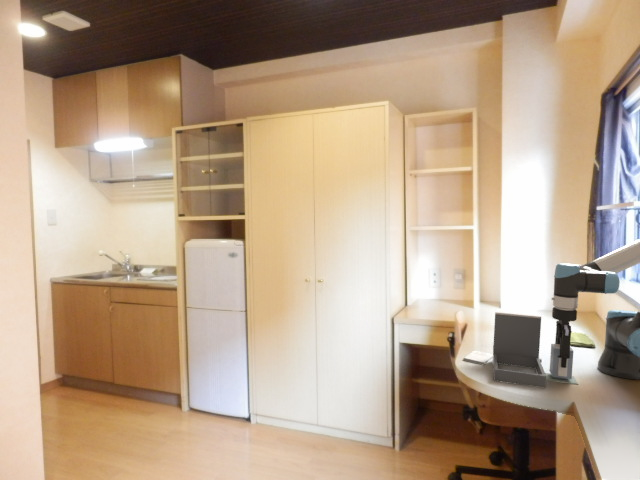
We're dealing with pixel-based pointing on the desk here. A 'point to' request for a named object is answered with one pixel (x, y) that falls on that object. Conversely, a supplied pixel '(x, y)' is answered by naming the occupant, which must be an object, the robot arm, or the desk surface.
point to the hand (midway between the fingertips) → (560, 372)
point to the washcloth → (581, 340)
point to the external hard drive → (478, 357)
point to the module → (555, 360)
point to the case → (518, 348)
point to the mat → (561, 379)
